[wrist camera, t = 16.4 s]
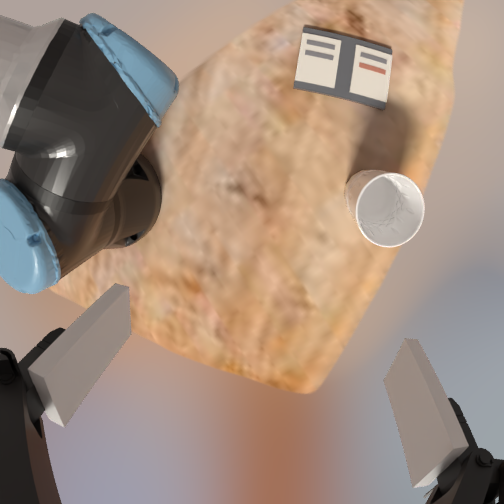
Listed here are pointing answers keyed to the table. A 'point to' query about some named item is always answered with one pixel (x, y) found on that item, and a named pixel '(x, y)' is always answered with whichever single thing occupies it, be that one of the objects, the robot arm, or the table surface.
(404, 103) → the table surface
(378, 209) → the white cup
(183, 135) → the table surface
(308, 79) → the label board
